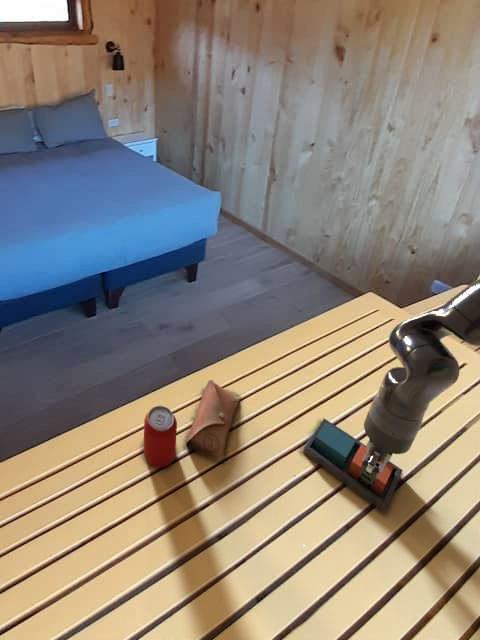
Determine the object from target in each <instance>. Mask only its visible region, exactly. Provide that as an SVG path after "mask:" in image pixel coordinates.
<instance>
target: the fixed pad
mask: <svg viewBox="0 0 480 640" xmlns="http://www.w3.org/2000/svg"><path fill="white" fill-rule="evenodd" d="M354 445H355V441H354V440H353V439H351V438H350V437H348V436H347V435H345V434H344V433H342V432H341V431H339V430H338V429H336V428H335V427H333V426H331V425H330V424H328V423H327V422H326V424H325V425H324V427H323V428H322V430H321V431H320V433H319V434H318V436H317V437H316V440H315V443H314V446H313V449H314V450H315V451H317V452H318V453H319V454H321V455H322V456H324V457H325V458H326V459H328V460H329V461H330V462H332V463H333V464H335V465H336V466H337V467H339V468H340V469H342V468H343V466H344V465H345V463H346V461H347V459H348V458H349V456H350V454H351V452H352V450H353V447H354Z"/></svg>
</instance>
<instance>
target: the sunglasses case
mask: <svg viewBox="0 0 480 640" xmlns="http://www.w3.org/2000/svg"><path fill="white" fill-rule="evenodd" d="M239 403H240V399H239V397H235V396H234V395H233V394H231V393H230V392H228V391H227V390H226V389H224V388H223V387H221V386H220V385H218V384H217V383H215V382H214V381H213V379H209V380H208V381H207V383H206V385H205V389H204V391H203V393H202V396H201V399H200V402H199V404H198V407H197V410H196V413H195V415H194V418H193V421H192V424H191V427H190V430H189V433H188V436H187V439H186V443H185V447H186V449H188V448H189V449H190V450H193V451H195V452H198V453H199V454H200V453H201V454H203V455H206V456H209V457H211V458H214V459H224V456H225V452H226V445H227V441H228V438H229V434H230V431H231V426H232V422H233V418H234V416H235V413H236V410H237V407H238V405H239Z"/></svg>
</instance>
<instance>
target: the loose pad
mask: <svg viewBox="0 0 480 640" xmlns="http://www.w3.org/2000/svg"><path fill="white" fill-rule="evenodd" d="M365 446H366V445H365ZM365 446H363V445H361V446H360V448H359V450H358V452H357V453H356V455H355V457H354V459H353V461H352V463H351V465H350V468H349V470H348V474H350V475H351V476H352V477H354V478H355V479H357V480H358V478H359V476H358V474H359V473H358V472H359V471H360V469H361V466H362V464H363V463H362V461H363V456H364V454H365V452H366V450H367V448H366V447H365ZM368 455H369V457H370V454H368ZM370 458H371V457H370ZM383 461H384V459H383ZM383 461H382V462H381V463H379V462H377V463H379V464H382V463H383ZM393 468H394V466H393V465H392V464H390V463H389V462H387V463H386V465H385V467H384V469H383V471H382V472H379V473H378V474H377V478H376V479H375V480H374V484H372V485H371V487H370V490H372V491H373V492H375V493H376V494H377V495H379V496H380V495H381V493H382V491H383V489H384V487H385V485H386V483H387V481H388V479H389V476H390V474H391V472H392V470H393Z"/></svg>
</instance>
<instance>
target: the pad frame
mask: <svg viewBox="0 0 480 640" xmlns="http://www.w3.org/2000/svg"><path fill="white" fill-rule="evenodd" d="M326 422H327V423H328V424H330V425H331V426H333V427H335V428H336V429H338V430H339V431H341V432H342V433H344V434H345V435H347V436H348V437H350V438H351V439H353V440H354V441H355V445H354V447H353V450H352V452H351V454H350V456H349V458H348V459H347V461H346V463H345V465H344V466H343V468H342V469H340V468H339V467H337V466H336V465H335V464H333V463H332V462H330V461H329V460H328V459H326V458H325V457H324V456H322V455H321V454H319V453H318V452H317V451H315V450H314V449H313V446H314V443H315V440H316V437H317V436H318V434H319V433H320V431H321V430H322V428H323V427H324V425H325V424H326ZM361 445H363V446H365V447H366V446H367V445H366V444H364V443H362V442H361V441H360V440H358V439H357V438H355V437H354V436H352V435H351V434H349V433H348V432H346V431H344V430H343V429H341V428H340V427H338V426H337V425H335V424H334V423H332V422H331V421H329V420H328V419H326V418H323V419H322V420H321V422H320V423H319V424H318V426H317V427H316V429H315V431H314V432H313V434H312V435H311V437H310V438H309V439H308V441H307V442H306V443H305V445H304V448H303V450H302V453H303V454H304V455H306V456H307V457H308V458H309V459H311V460H312V461H313V462H315V463H316V464H317V465H319V466H320V467H321V468H323V469H324V470H325V471H327V472H328V473H329V474H331V475H332V476H334V477H335V478H337V479H338V480H339V481H340V482H342V483H343V484H344V485H346V486H347V487H349V488H350V489H351V490H353V491H354V492H355V493H357V494H358V495H359V496H360V497H362V498H363V499H365V501H367V502H369V503H370V504H372V505H373V506H374V507H376V508H377V509H378V510H380V511H381V512H382V513H385V511H386V509H387V507H388V505H389V503H390V500H391V498H392V496H393V493H394V491H395V489H396V487H397V484H398V482H399V480H400V478H401V475H402V473H403V471H404V470H403V469H402V468H400V467H399V466H397V465H396V464H395V463H394V462H391V461H390V460H389V461H388V462H389V463H390V464H392V465H393V466H394V468H393V470H392V472H391V474H390V476H389V479H388V481H387V483H386V485H385V487H384V489H383V491H382V493H381V495H380V496H379V495H377V494H376V493H375V492H373V491H372V490H370V489H368V488H366V487H364V486H363V485H362V484H360V483H359V482H358V480H357V479H355V478H354V477H352V476H351V475H350V474H348V470H349V468H350V465H351V463H352V461H353V459H354V457H355V455H356V453H357V452H358V450H359V448H360V446H361ZM366 448H367V447H366Z"/></svg>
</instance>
